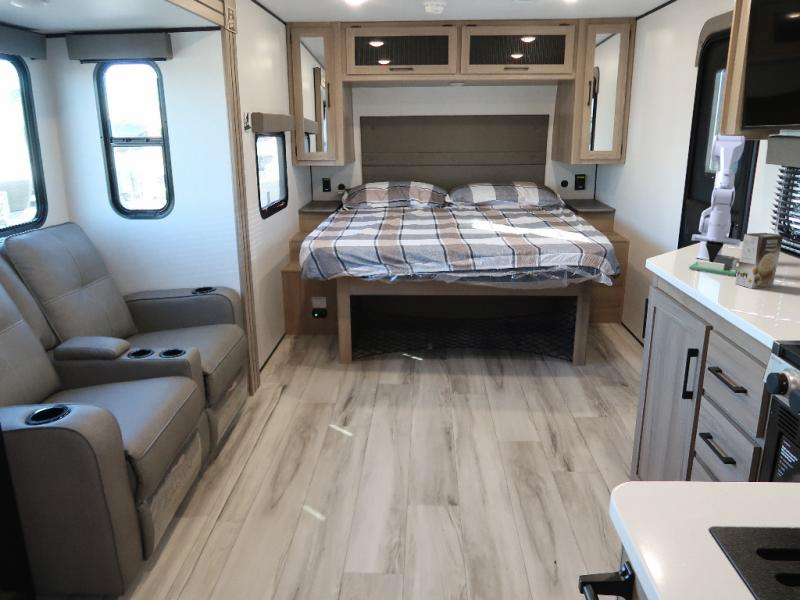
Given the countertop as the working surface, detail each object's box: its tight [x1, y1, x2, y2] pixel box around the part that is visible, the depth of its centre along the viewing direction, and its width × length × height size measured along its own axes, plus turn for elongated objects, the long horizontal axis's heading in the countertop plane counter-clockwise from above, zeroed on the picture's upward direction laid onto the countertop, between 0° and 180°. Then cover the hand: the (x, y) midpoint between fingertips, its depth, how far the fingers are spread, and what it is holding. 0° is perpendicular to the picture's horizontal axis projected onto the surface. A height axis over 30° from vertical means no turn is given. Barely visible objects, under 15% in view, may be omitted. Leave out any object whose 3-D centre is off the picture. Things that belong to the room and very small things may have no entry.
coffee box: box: [734, 232, 784, 289], centre depth 189 cm, size 9×6×16 cm
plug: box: [714, 254, 735, 270], centre depth 208 cm, size 4×5×4 cm
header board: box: [688, 257, 738, 277], centre depth 209 cm, size 12×14×4 cm
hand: (711, 263), depth 210 cm, fingers closed
